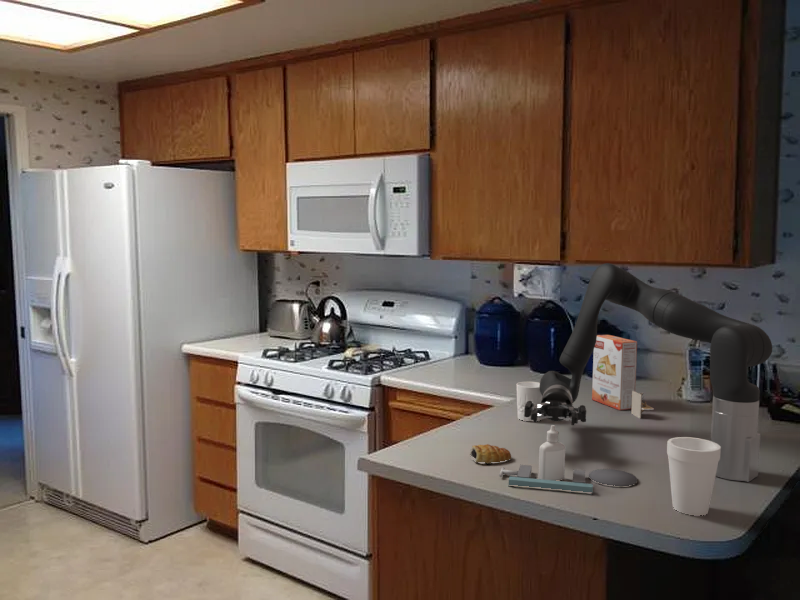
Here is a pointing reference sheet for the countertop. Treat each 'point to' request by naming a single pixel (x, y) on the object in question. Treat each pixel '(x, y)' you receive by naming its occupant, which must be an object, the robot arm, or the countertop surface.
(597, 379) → the cracker box
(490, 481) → the countertop surface
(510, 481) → the vise
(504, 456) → the pastry
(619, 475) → the mat
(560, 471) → the eye dropper bottle
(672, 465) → the foam cup
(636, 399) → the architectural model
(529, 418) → the white cup
